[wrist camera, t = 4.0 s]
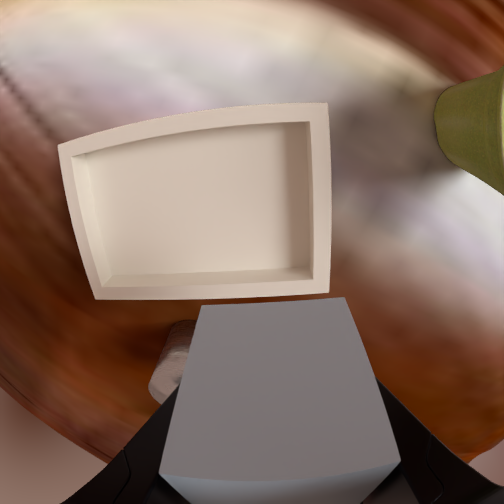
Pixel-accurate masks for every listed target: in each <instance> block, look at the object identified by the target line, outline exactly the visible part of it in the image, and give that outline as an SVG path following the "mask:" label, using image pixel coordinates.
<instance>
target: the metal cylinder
mask: <svg viewBox="0 0 504 504" xmlns="http://www.w3.org/2000/svg"><path fill="white" fill-rule="evenodd" d="M196 324H197V321H196V320H182V321H179V322H177V323H176V324H175V325H174V326H173V327H172V329H171V331H170V333H169V336H168V338H167V340H166V343H165V345H164V348H163V350H162V353H161V355H160V358H159V360H158V362H157V365H156V368H155V370H154V373H153V375H152V378H151V380H150V383H149V391H150V393H151V395H152V396H153V398H154V399H155V400H156V401H158V402H159V403H160V404H163V402H164V401H165V400H166V399H167V398H168V397H169V395H170V394H171V393H172V392H173V391H174V390H175V388H176V387H177V386H178V385H179V384H180V383H181V379H182V375H183V372H184V368H185V364H186V360H187V357H188V353H189V349H190V346H191V342H192V338H193V335H194V331H195V328H196Z"/></svg>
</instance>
